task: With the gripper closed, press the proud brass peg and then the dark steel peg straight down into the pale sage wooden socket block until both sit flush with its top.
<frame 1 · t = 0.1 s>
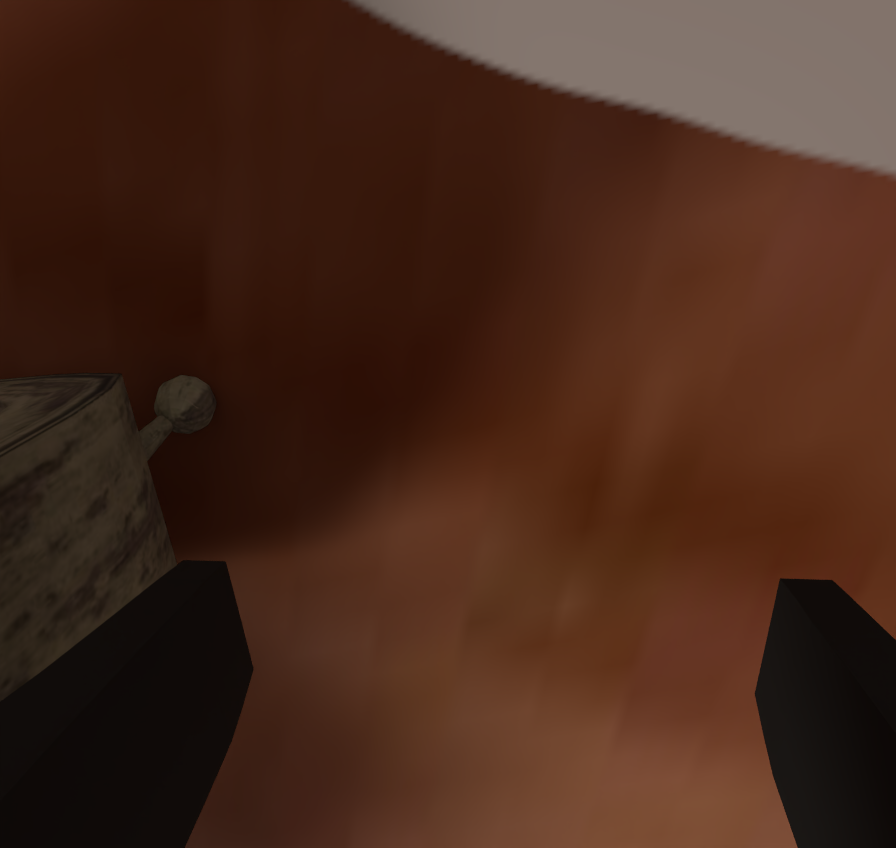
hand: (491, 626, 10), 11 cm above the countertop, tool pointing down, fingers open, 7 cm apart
tabletop clock: (66, 492, 22), on the countertop
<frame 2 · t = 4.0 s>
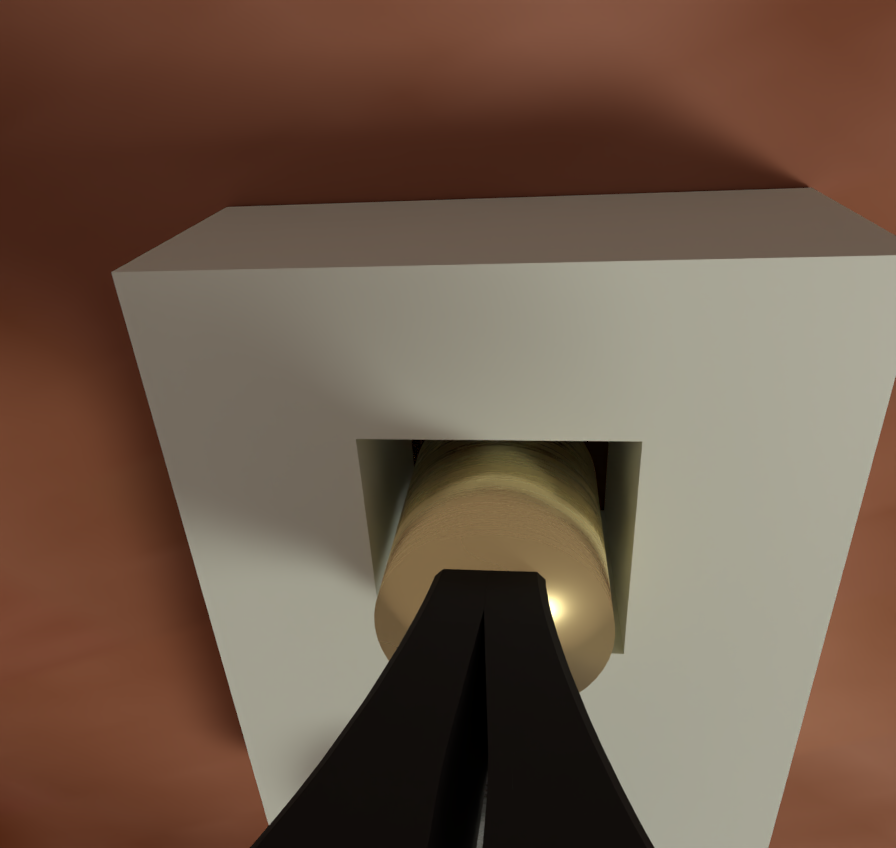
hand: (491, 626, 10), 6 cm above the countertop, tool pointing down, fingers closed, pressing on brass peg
brass peg: (498, 546, 11), point 4 cm above the countertop, slide at 1.6 cm, touching gripper
socket block: (510, 563, 16), on the countertop
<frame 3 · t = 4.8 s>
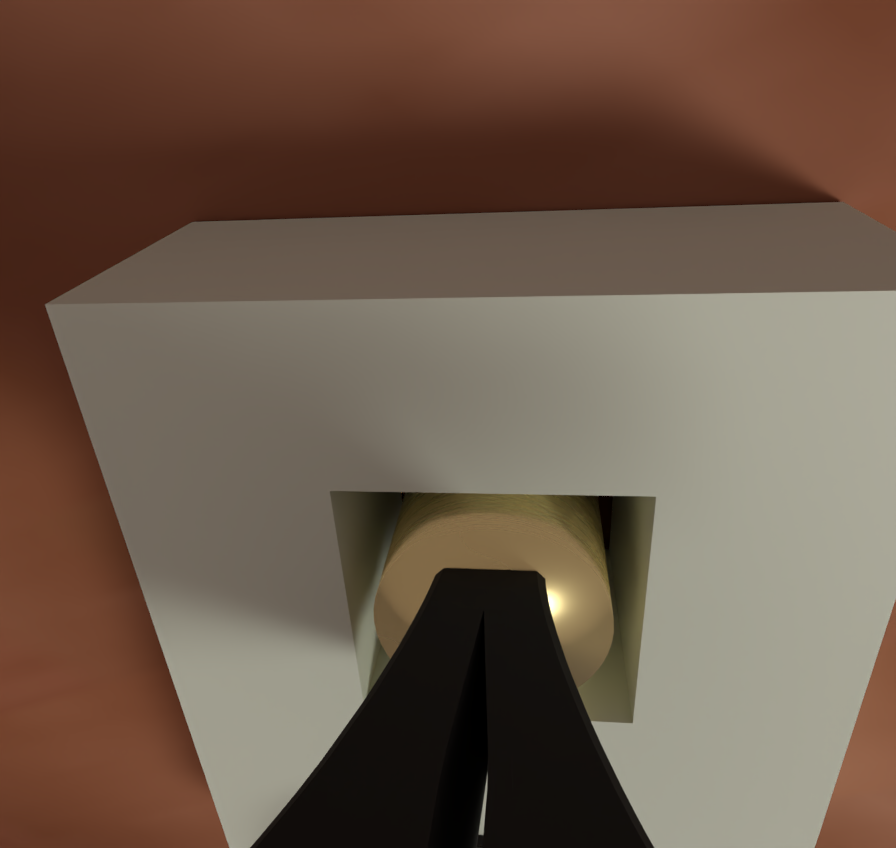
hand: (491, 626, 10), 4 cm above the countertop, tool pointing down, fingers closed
brass peg: (498, 541, 11), point 2 cm above the countertop, slide at 0.2 cm
socket block: (507, 603, 15), on the countertop
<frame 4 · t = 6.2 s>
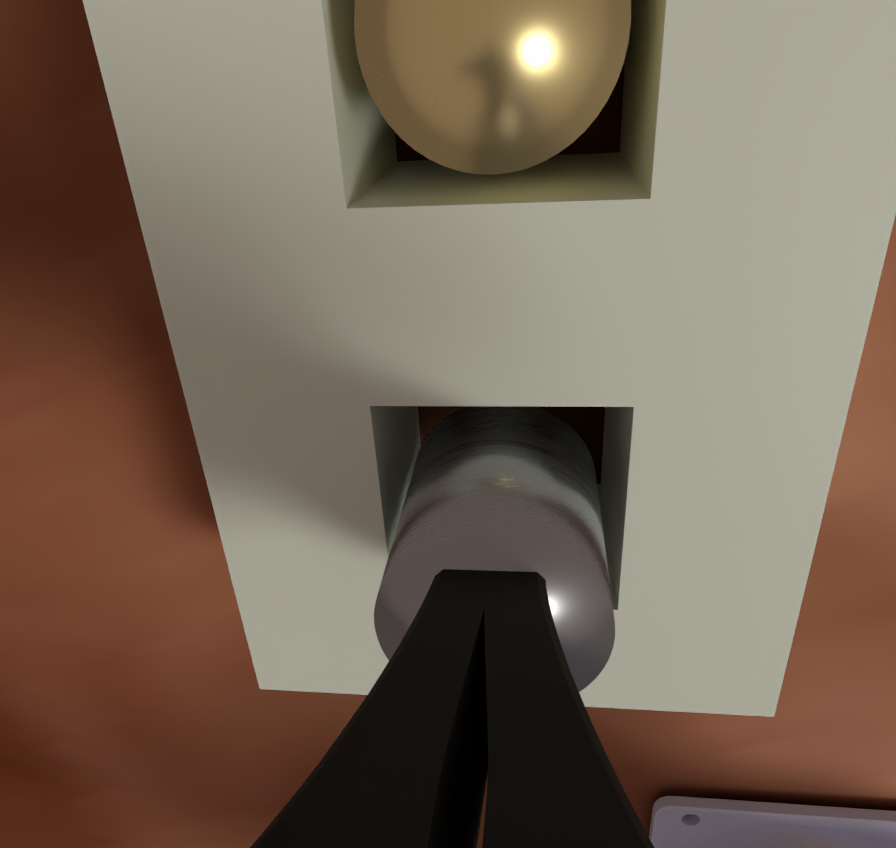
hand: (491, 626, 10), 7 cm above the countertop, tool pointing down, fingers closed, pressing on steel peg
brass peg: (497, 30, 10), point 2 cm above the countertop, slide at 0.2 cm
steel peg: (498, 545, 11), point 5 cm above the countertop, slide at 2.6 cm, touching gripper
socket block: (507, 240, 14), on the countertop
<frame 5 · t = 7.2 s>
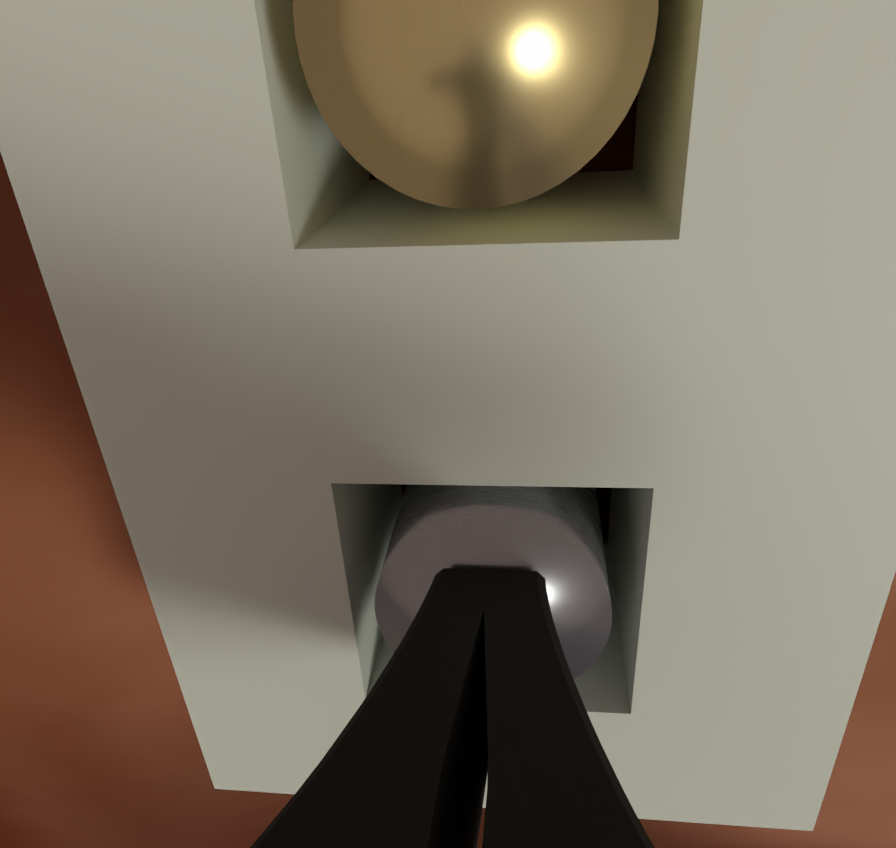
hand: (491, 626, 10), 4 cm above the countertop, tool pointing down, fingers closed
brass peg: (484, 24, 8), point 2 cm above the countertop, slide at 0.2 cm
steel peg: (497, 534, 11), point 2 cm above the countertop, slide at 0.2 cm
socket block: (500, 271, 12), on the countertop
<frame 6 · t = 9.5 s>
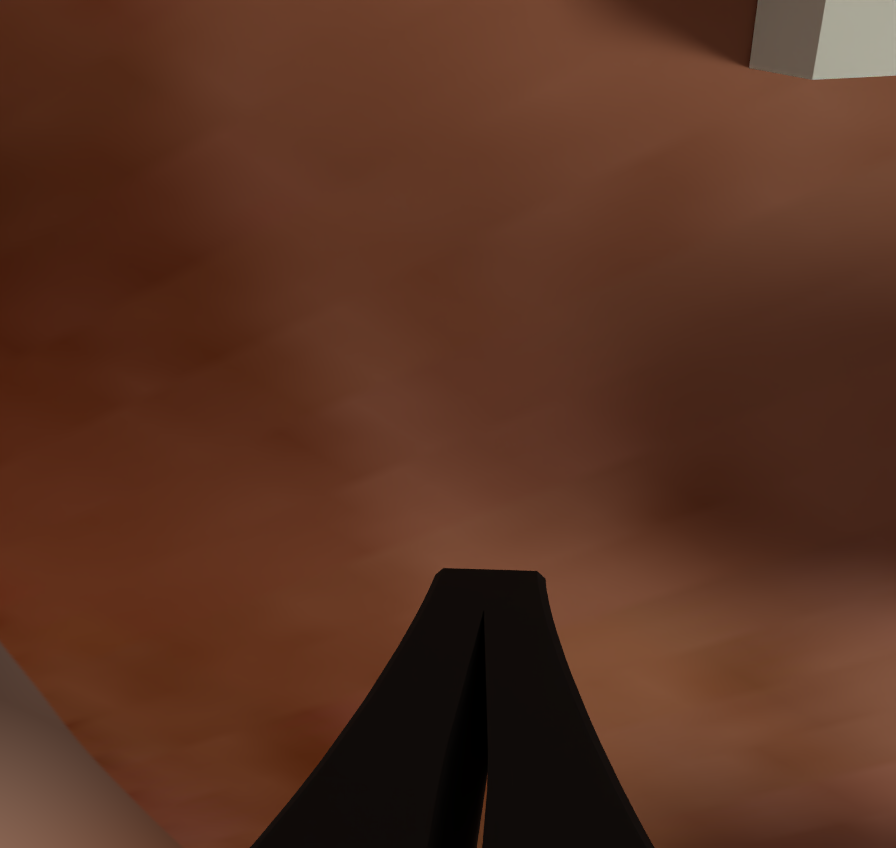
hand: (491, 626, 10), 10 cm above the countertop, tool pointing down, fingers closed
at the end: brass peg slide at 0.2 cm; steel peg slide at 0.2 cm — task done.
